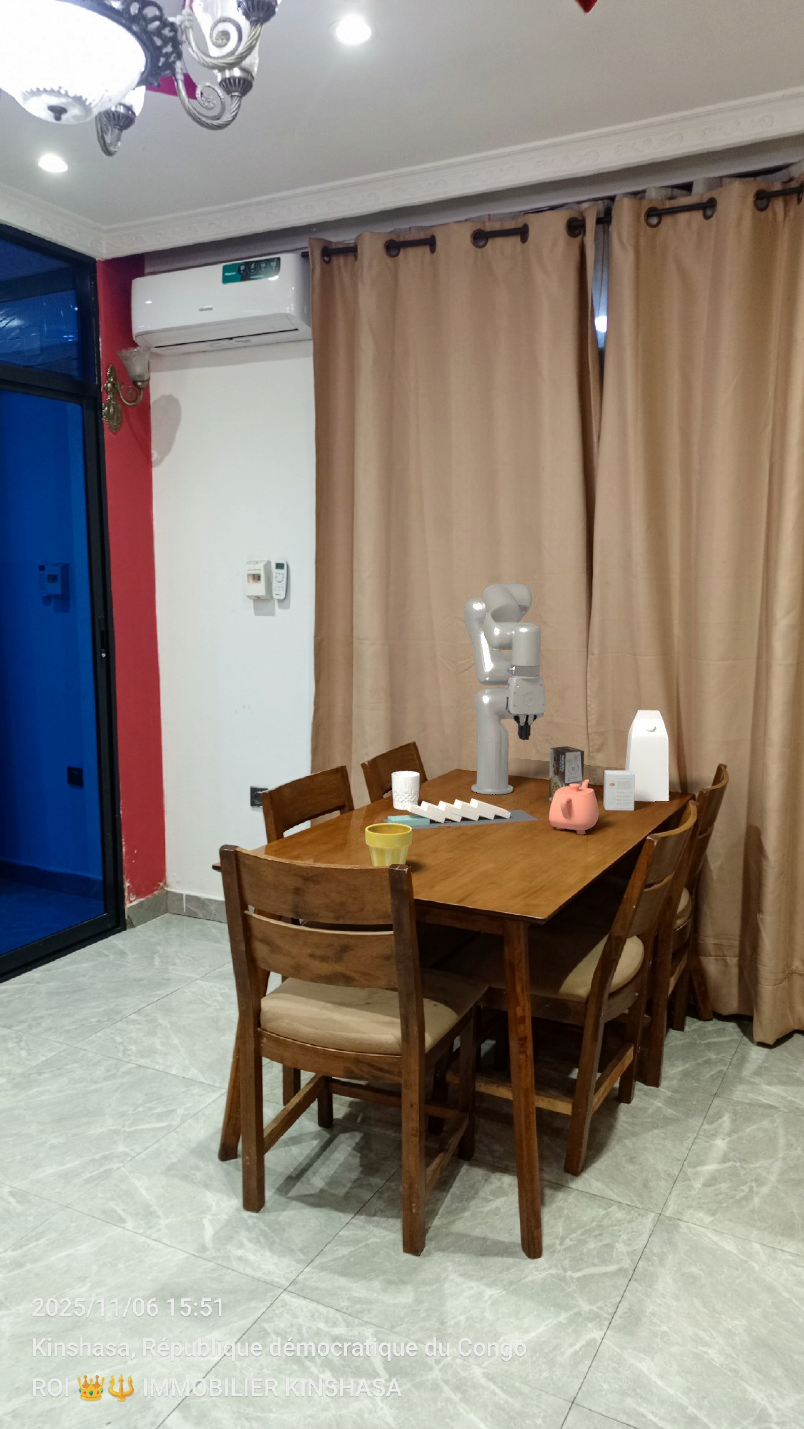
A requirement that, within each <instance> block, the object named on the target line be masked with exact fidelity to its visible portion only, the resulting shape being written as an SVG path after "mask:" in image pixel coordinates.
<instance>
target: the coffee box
mask: <svg viewBox="0 0 804 1429" xmlns="http://www.w3.org/2000/svg"><path fill="white" fill-rule="evenodd" d="M548 763H549V765H548V766H549V773H548V774H549V777H548V778H549V780H548V782H549V783H548V785H549V786H548V787H549V788H548V801H550V802H552V800H553V797H554V794H555V792H556V791H557V790H558V789H560V788H562V787H565V786H570V785H569V784H573V783H575V784H580V787H581V786H582V784H583V781H584V771H585V770H584V769H585V766H584V765H585V750H581V749H578V748H576V747H572V746H555V747H549V762H548Z"/></svg>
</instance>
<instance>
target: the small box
mask: <svg viewBox="0 0 804 1429" xmlns="http://www.w3.org/2000/svg"><path fill="white" fill-rule="evenodd" d="M603 773H604V774H603V775H604V776H603V808H604V809H605V811H620V812H621V811H625V812H626V811H627V812H630V811H631V812H634V811H635V801H634V788H635V774H634V773H633V772H632V771H625V770H622V769H621V770H619V769H618V770H615V769H614V770H610V769H607V770H606V769H604V772H603Z"/></svg>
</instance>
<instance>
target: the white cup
mask: <svg viewBox="0 0 804 1429" xmlns="http://www.w3.org/2000/svg"><path fill="white" fill-rule="evenodd" d="M420 775H421V773H419V772H417V771H411V770H409V771H408V770H404V771H402V770H400V771H395V772H392V773H391V788H392V790H391V792H392V803H393V808H394V809H396V810H402V811H408V810H407V809H406V808H404V806H405V804H406V802H409V803H412V804H414V805H417V806H419V797H420V796H419V793H420V777H421V776H420Z"/></svg>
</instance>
